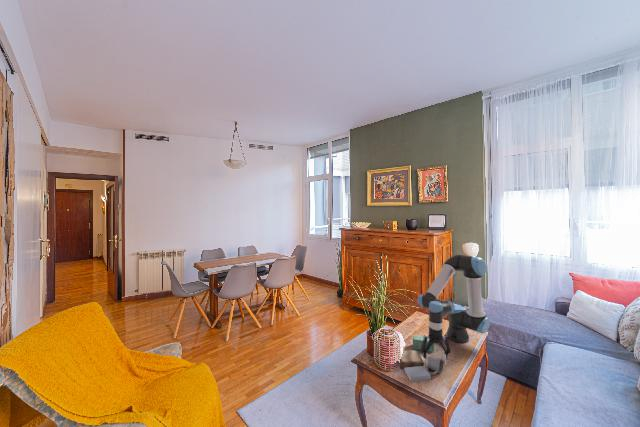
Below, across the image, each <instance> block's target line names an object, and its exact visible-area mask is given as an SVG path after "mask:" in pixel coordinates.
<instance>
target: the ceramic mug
mask: <svg viewBox="0 0 640 427" xmlns="http://www.w3.org/2000/svg"><path fill="white" fill-rule="evenodd" d="M444 366H445V365H444V362H443V358H439V357H437V356H433V355H428V365H426V370H427V371H428V372H429V374H430V375H431V376H434V375H436V374H437V373H439V374H442V372H443V369H444ZM429 369H430V370H432V371H433V372H430V371H429Z"/></svg>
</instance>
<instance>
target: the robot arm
mask: <svg viewBox="0 0 640 427" xmlns="http://www.w3.org/2000/svg"><path fill="white" fill-rule="evenodd" d="M441 267H442V268H441V269H440V271H439V272H438V274H437V275H436V277H435V278H434V280H433V281H432V283H431V285H430V286H429V288H428V289H427V290H426V292H425V294H420V295H418V297H417V300H416V301H417V304H418V305H419V306H420V307H422V308H425V309H428V316H429V317H428V334H427V335H426V334H425V335H422V336H423V337H424V339H423V343H422V346H421V349H420V350H419V351H420V352H421V354H423V356H422V357H423V358H424V364H426V366H427V365H428V356H429V354H428V350H429V349H430V347H431V345H433V343H434V345H435V344H437V345H438V344H439V345H440V347H441V348H442V349H443V351H442V360H443V362H444V366H447V359H448V358H449V357H448V355H449V354H451V353H452V351H451V348H450V345H449V342H448V341H452V342H456V343H461V344H463V343H468V342H469V341H470V336H469V333H468V330H471V331H473V332H476V333H479V334H485V333H487V332H488V330H489V327H490V325H491V320H490V317H487V314H486V312H485V311H484V308H483V295H482V282H481V279H482V278H483V277H484V276H485V275H486V272H487V271H486V270H487V264H486V262H485V260H484V259H483V258H481V257H477V256H472V255H465V254H455V255H452V256H451V257H449V258H447V259H446V260H445V261H444V262H443V264H442V265H441ZM457 272H462V273H463V277H464V278H466V279H465V281H466V289H467V290H466V291H467V292H466V293H467V305H468V309H467V307H465V306H462V305H455V304H454V303H453V302H452V301H451V300H441V299H438V298H439V296H440V294H441V293H442V291H443V290H444V288H446V285H447V284H448V282H449V280H450V279H451V277H452V276H453V275H454V274H456V273H457ZM447 315H448V327H447V330H446V335H443V318H444V317H445V316H447ZM467 329H468V330H467ZM428 338H429V342H428V344H427V345H426V343H427V340H428ZM442 341H444V343H443V342H442ZM444 344H445V346H444ZM425 346H426V347H425Z"/></svg>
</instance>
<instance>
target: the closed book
mask: <svg viewBox="0 0 640 427" xmlns="http://www.w3.org/2000/svg"><path fill="white" fill-rule="evenodd" d="M403 370H404V371H405V372H404V374H407V375H406V376H407V377H408V379H409V381H410V382H420V381H427V380H431V379H432V375H431V374H429V372H430V371H429V370H428V371H429V372H428V371H427V368H426V367H425V365H424V366H417V367H406V368H404V369H403Z"/></svg>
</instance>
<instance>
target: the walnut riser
mask: <svg viewBox="0 0 640 427" xmlns="http://www.w3.org/2000/svg"><path fill="white" fill-rule="evenodd" d="M402 350H403V354H402V357H401V359H400V366H399V368H400V369H401V370H404V368H406V367H417V366H424V367H425V361H424V360H423V359H422V357H421V355H420V353H419V352H418V350H415V349H411V350H410V349H402Z"/></svg>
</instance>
